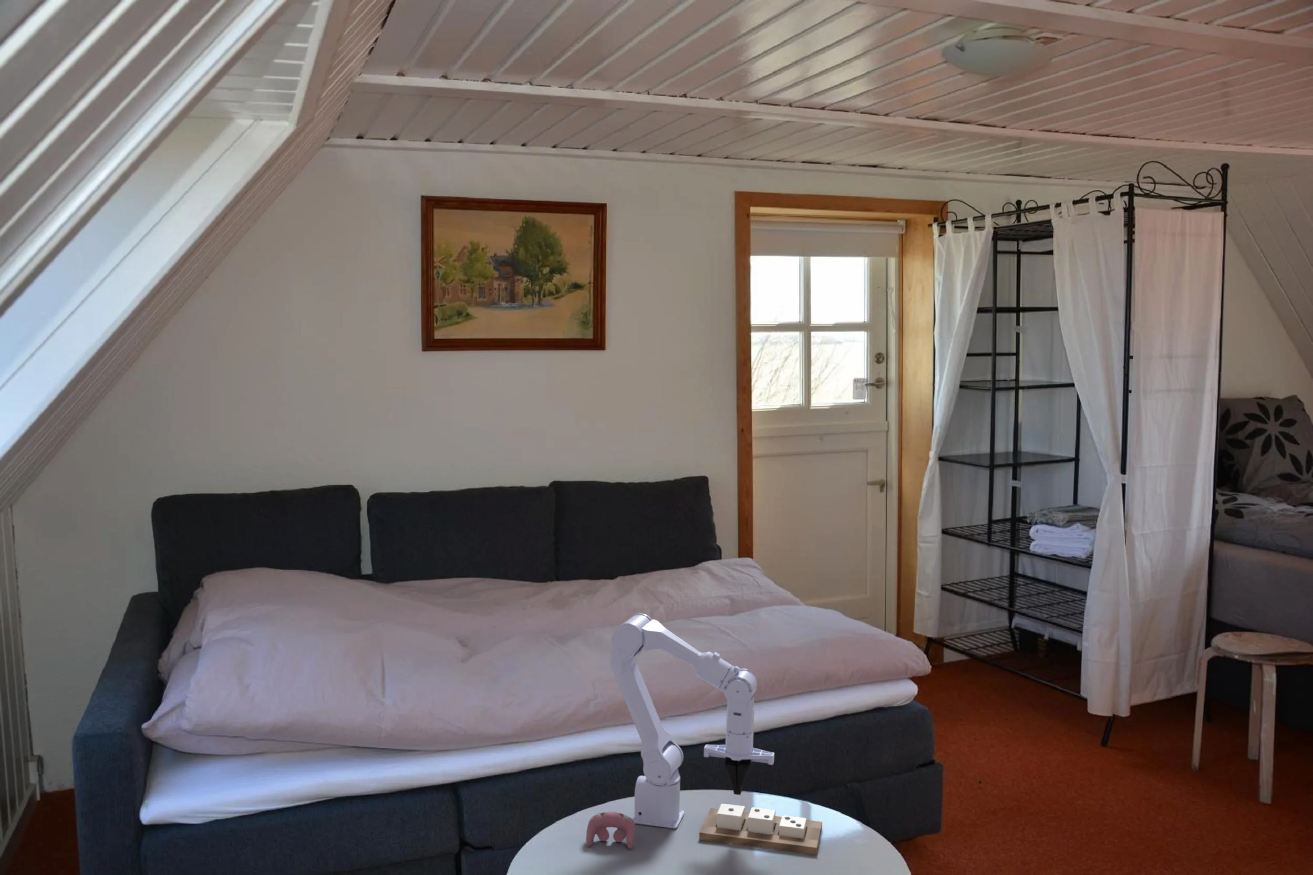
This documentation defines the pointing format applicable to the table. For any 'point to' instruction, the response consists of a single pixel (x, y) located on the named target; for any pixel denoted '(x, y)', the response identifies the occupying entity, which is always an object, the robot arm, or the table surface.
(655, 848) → the table surface
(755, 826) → the two dot tile
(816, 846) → the tile board
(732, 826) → the one dot tile
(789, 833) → the three dot tile
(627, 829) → the video game controller
